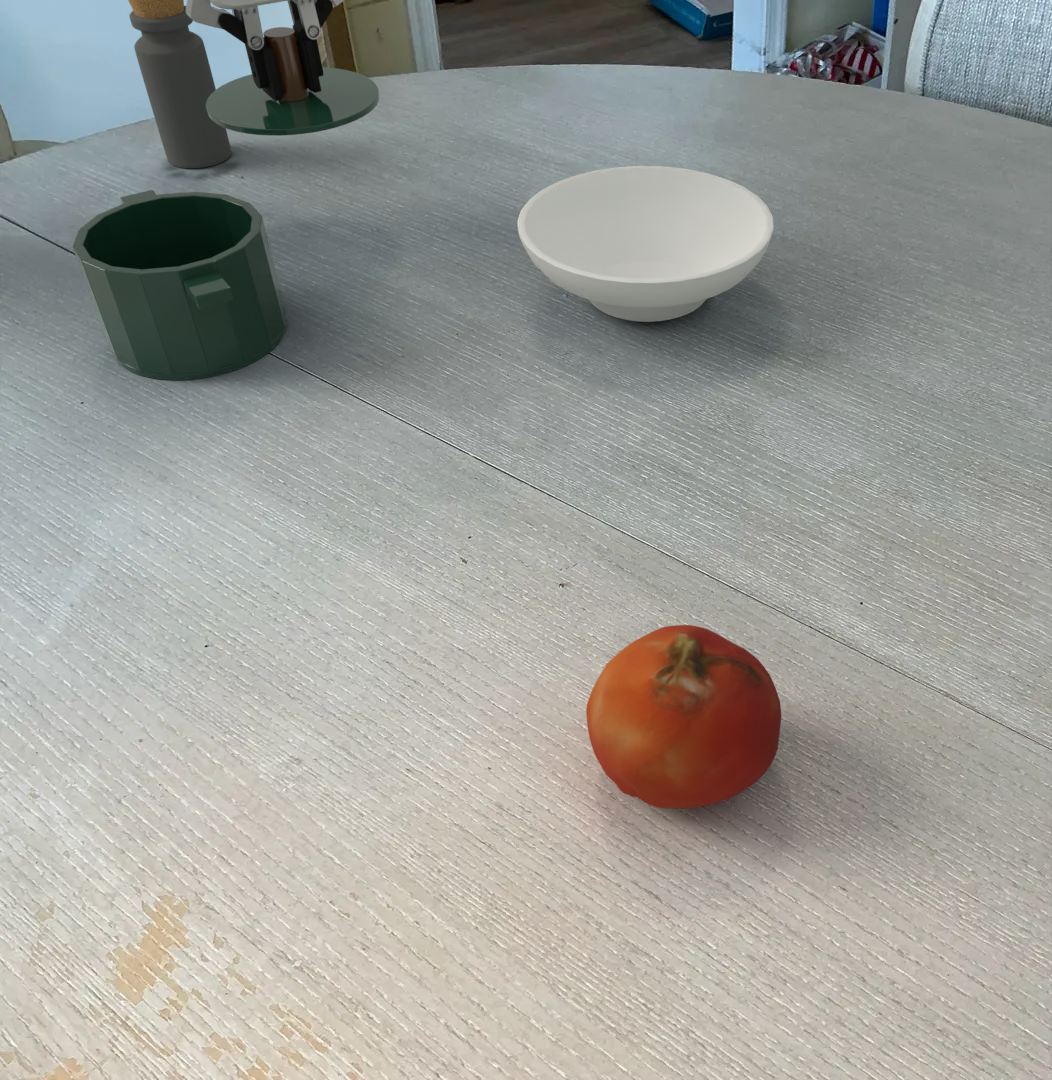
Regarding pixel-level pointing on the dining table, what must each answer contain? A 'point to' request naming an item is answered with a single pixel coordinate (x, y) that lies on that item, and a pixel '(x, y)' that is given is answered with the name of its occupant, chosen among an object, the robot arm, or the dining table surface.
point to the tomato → (684, 718)
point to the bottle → (178, 83)
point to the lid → (292, 96)
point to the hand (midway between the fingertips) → (291, 89)
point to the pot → (182, 283)
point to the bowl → (645, 238)
